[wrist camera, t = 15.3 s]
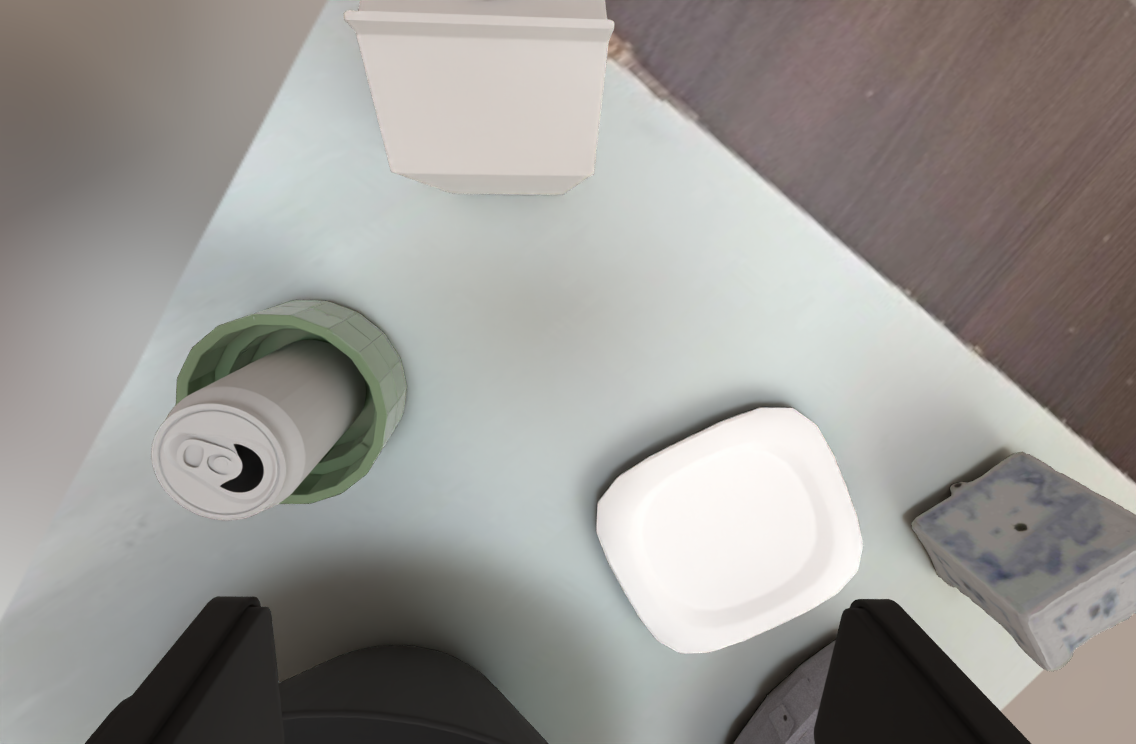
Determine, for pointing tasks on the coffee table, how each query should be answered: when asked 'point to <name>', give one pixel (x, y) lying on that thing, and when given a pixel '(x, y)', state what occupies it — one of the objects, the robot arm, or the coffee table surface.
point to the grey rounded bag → (791, 705)
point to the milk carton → (487, 90)
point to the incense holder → (1036, 555)
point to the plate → (731, 530)
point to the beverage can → (257, 430)
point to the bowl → (399, 702)
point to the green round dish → (328, 324)
